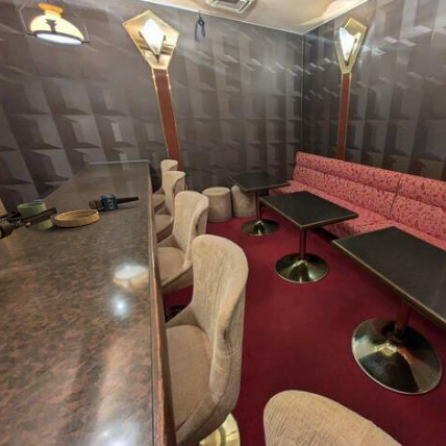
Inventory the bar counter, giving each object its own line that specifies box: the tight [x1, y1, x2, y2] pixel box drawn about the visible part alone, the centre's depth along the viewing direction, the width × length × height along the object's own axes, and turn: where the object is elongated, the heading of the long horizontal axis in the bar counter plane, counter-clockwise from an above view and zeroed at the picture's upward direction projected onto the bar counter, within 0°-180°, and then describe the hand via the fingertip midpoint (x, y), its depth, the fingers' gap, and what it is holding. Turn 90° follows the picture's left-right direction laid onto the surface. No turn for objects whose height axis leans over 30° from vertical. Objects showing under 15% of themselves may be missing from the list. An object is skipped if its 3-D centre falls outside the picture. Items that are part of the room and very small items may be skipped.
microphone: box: [88, 193, 140, 212], centre depth 151 cm, size 8×8×25 cm
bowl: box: [54, 208, 101, 228], centre depth 129 cm, size 17×17×4 cm
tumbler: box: [16, 201, 53, 232], centre depth 102 cm, size 8×8×10 cm
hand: (44, 210), depth 106 cm, fingers closed on tumbler, 8 cm apart
